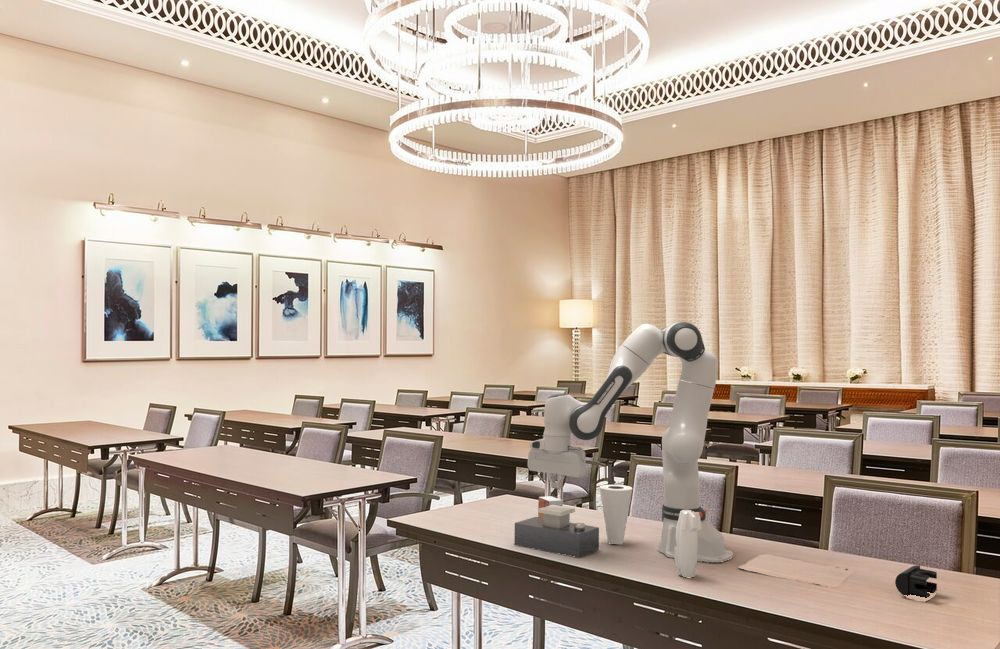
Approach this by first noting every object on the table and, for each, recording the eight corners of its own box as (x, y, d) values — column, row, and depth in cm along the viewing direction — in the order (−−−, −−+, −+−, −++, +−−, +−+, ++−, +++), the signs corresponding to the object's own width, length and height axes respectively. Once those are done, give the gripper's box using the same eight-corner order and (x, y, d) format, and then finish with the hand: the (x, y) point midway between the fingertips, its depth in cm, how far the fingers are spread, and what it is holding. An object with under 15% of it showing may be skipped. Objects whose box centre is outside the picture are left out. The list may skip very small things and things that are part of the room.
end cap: (907, 588, 198) (907, 563, 199) (937, 595, 193) (937, 568, 193) (894, 596, 191) (894, 570, 191) (925, 603, 186) (925, 576, 186)
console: (598, 549, 233) (599, 522, 234) (579, 557, 224) (579, 529, 224) (535, 537, 248) (535, 511, 248) (514, 544, 238) (514, 517, 239)
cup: (622, 549, 235) (622, 491, 236) (593, 543, 241) (593, 487, 242) (637, 542, 243) (638, 487, 244) (609, 537, 250) (609, 483, 250)
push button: (574, 530, 237) (574, 508, 237) (560, 535, 230) (560, 512, 231) (552, 526, 242) (552, 504, 242) (537, 531, 235) (538, 508, 236)
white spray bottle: (705, 579, 204) (689, 571, 211) (705, 512, 205) (689, 507, 212) (685, 581, 202) (669, 573, 209) (685, 514, 203) (669, 508, 209)
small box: (537, 526, 265) (538, 496, 265) (551, 525, 267) (551, 495, 268) (548, 531, 257) (548, 500, 258) (562, 530, 260) (562, 499, 260)
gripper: (590, 446, 234) (589, 491, 233) (536, 440, 246) (535, 482, 245) (580, 448, 228) (578, 493, 228) (525, 442, 241) (524, 485, 240)
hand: (555, 488), depth 237 cm, fingers closed
